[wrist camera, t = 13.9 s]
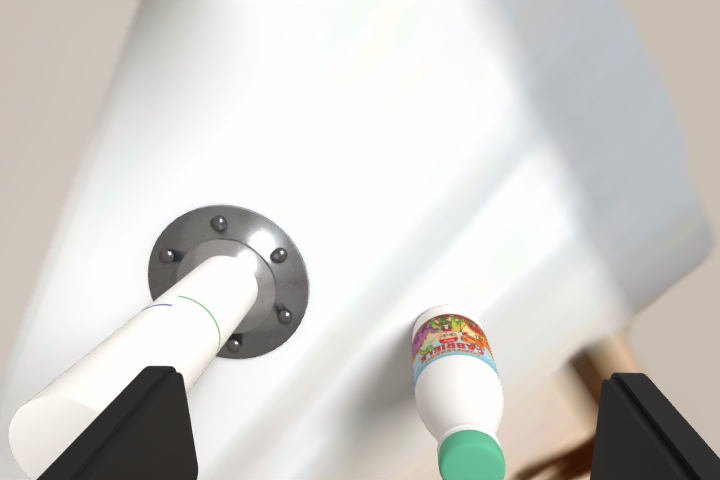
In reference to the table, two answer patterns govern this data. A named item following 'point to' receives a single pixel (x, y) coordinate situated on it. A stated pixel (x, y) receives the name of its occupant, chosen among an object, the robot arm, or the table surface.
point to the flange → (257, 251)
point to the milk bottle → (458, 393)
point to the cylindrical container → (136, 358)
